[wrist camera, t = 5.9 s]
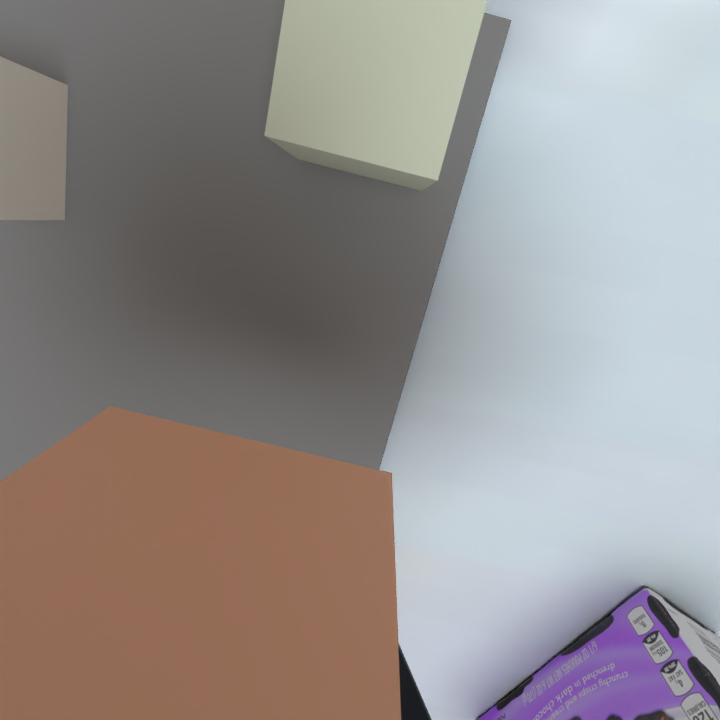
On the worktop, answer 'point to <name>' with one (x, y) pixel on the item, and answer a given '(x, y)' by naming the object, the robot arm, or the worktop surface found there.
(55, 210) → the taupe block
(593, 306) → the worktop surface
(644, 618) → the candy box
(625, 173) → the worktop surface
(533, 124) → the worktop surface
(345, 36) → the sage block
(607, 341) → the worktop surface
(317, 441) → the slate mat
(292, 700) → the terracotta block
